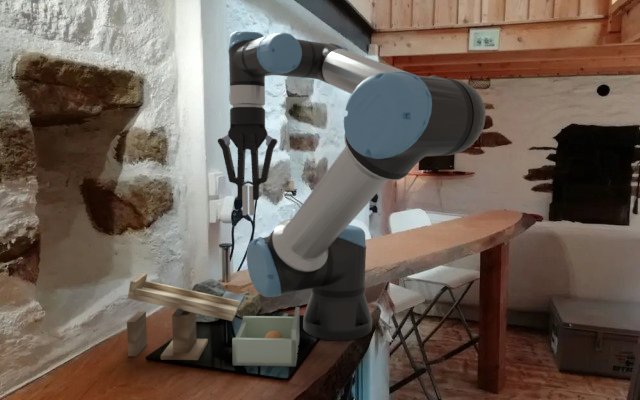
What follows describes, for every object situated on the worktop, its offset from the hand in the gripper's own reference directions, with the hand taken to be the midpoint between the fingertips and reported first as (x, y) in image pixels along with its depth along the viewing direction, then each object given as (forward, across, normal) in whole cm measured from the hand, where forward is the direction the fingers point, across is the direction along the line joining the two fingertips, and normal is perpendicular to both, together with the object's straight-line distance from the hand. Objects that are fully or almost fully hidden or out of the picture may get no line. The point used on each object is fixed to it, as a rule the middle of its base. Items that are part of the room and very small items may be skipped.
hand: (248, 214), depth 112 cm
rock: (+25, +2, -6) cm, 26 cm away
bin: (+24, -6, +17) cm, 30 cm away
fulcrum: (+24, +13, +17) cm, 33 cm away
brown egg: (+22, -7, +17) cm, 29 cm away
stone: (+25, +10, -1) cm, 27 cm away
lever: (+16, +10, +14) cm, 24 cm away
